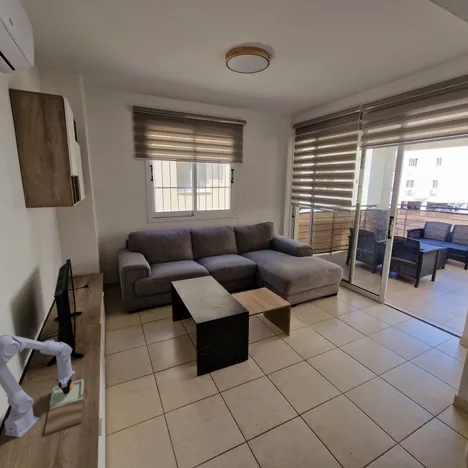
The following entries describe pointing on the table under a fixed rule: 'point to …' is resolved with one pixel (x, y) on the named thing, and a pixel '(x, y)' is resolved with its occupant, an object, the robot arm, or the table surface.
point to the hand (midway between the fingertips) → (67, 389)
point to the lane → (64, 416)
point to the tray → (74, 394)
